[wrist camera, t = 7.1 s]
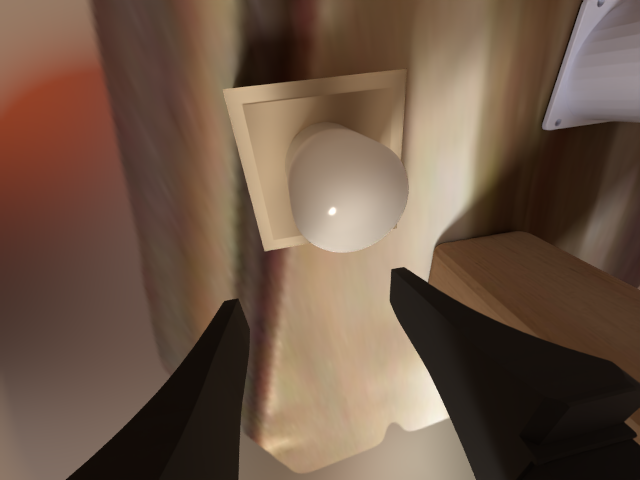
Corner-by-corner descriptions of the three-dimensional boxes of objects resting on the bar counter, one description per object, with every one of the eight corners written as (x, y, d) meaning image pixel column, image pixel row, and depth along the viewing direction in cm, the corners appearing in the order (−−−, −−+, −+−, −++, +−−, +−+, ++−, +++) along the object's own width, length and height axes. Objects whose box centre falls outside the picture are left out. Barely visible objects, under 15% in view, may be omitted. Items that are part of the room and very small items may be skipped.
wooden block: (524, 225, 25) (1102, 513, 7) (496, 298, 30) (802, 571, 12) (431, 240, 24) (850, 614, 6) (418, 314, 29) (634, 632, 11)
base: (385, 73, 16) (407, 68, 13) (381, 212, 21) (396, 228, 18) (231, 91, 15) (222, 89, 13) (265, 232, 20) (264, 251, 18)
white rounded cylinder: (369, 123, 14) (421, 139, 9) (358, 202, 17) (395, 249, 12) (283, 120, 14) (289, 136, 9) (286, 204, 16) (292, 255, 11)
